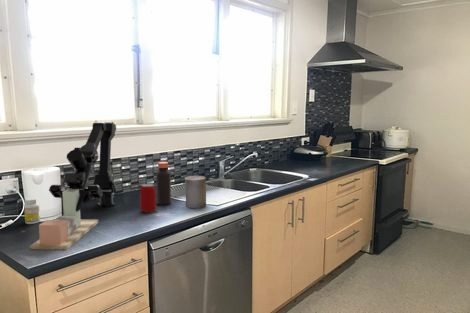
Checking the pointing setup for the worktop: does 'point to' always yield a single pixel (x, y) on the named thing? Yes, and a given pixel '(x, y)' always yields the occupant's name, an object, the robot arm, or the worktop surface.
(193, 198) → the pillar candle
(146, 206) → the beverage can
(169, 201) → the vinegar
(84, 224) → the base board
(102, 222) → the worktop surface
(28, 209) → the supplement bottle
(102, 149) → the robot arm
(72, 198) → the pale green slab
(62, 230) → the socket block
